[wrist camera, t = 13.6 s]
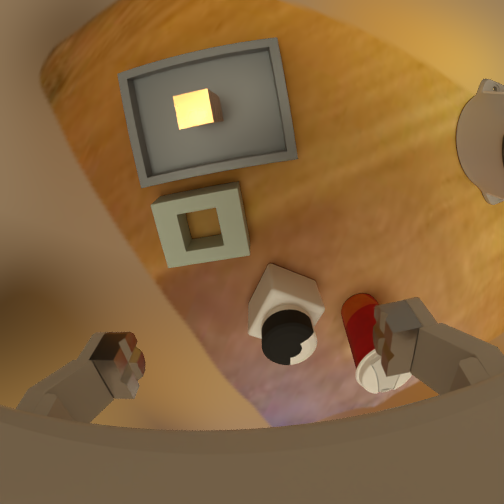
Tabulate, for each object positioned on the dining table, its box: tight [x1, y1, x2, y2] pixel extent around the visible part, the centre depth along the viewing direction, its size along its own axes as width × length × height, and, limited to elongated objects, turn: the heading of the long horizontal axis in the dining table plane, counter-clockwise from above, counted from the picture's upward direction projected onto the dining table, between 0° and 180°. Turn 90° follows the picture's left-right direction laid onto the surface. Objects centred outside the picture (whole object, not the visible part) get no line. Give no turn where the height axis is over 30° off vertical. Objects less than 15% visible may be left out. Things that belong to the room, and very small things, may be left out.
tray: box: [118, 38, 298, 188], centre depth 34 cm, size 18×14×3 cm
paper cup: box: [341, 293, 412, 394], centre depth 39 cm, size 8×8×14 cm
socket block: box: [151, 181, 250, 268], centre depth 38 cm, size 10×8×4 cm
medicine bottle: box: [248, 263, 325, 365], centre depth 39 cm, size 7×7×12 cm
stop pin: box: [173, 89, 224, 129], centre depth 30 cm, size 3×3×10 cm
